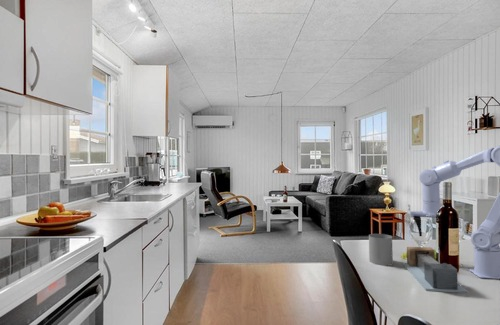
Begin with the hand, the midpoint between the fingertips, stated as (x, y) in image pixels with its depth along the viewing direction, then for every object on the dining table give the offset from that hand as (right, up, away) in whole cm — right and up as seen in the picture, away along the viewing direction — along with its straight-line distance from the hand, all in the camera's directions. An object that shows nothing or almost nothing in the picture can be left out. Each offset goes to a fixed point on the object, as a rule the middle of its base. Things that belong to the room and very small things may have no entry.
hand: (431, 236), depth 121 cm
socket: (-7, -10, -5) cm, 13 cm away
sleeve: (-11, -10, -23) cm, 28 cm away
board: (-9, -10, -15) cm, 21 cm away
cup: (-19, -11, +2) cm, 22 cm away
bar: (-9, -9, -13) cm, 18 cm away
